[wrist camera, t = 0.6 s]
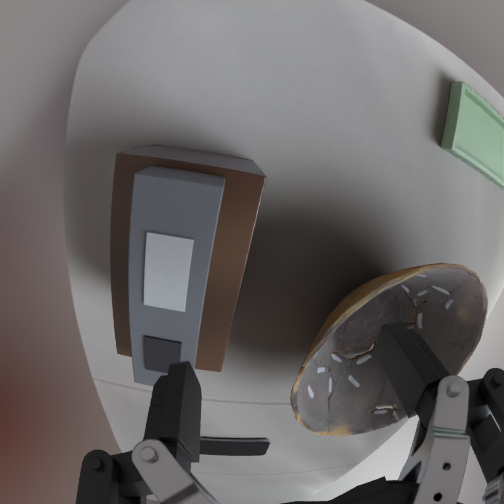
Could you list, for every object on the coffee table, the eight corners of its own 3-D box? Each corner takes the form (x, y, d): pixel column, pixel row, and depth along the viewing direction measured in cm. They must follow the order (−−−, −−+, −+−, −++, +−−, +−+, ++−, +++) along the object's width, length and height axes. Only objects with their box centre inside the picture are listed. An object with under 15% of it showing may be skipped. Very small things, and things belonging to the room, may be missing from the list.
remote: (150, 165, 15) (132, 173, 12) (225, 177, 15) (224, 187, 12) (142, 355, 20) (134, 384, 18) (194, 364, 21) (191, 394, 18)
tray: (440, 147, 24) (451, 149, 22) (451, 82, 20) (462, 81, 19) (511, 196, 27) (520, 200, 25) (522, 146, 24) (531, 148, 22)
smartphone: (188, 439, 41) (270, 441, 42) (189, 436, 41) (270, 438, 43) (190, 453, 44) (264, 455, 45) (191, 450, 44) (264, 452, 46)
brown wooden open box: (154, 144, 22) (116, 152, 14) (253, 160, 24) (266, 176, 16) (141, 296, 28) (117, 353, 20) (221, 310, 30) (221, 372, 22)
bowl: (424, 357, 38) (451, 398, 29) (283, 397, 38) (294, 453, 28) (457, 213, 27) (512, 244, 18) (264, 243, 27) (281, 302, 18)
